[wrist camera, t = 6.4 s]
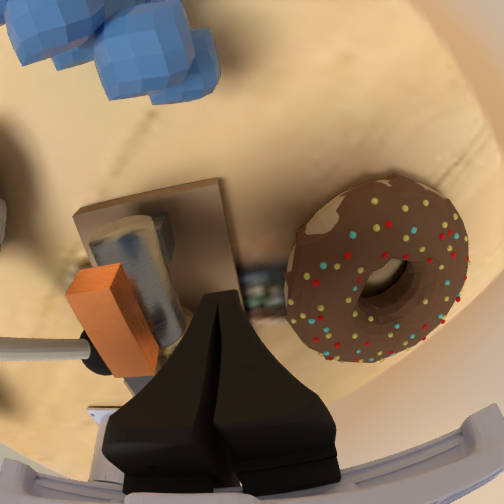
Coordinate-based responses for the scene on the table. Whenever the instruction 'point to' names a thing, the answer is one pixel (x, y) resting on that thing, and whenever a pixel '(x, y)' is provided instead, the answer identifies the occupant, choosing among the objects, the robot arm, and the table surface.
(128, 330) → the valve lever
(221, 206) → the walnut board
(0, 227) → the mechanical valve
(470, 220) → the table surface
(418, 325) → the donut
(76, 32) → the grapes
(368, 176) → the table surface
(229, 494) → the robot arm
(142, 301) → the pipe and valve body
